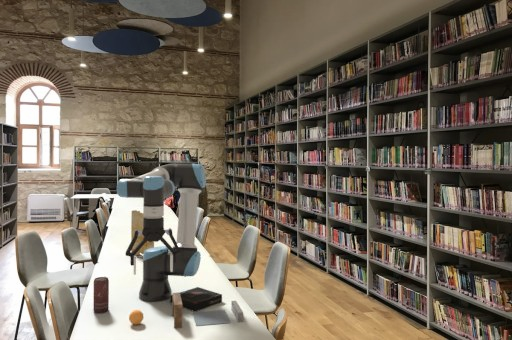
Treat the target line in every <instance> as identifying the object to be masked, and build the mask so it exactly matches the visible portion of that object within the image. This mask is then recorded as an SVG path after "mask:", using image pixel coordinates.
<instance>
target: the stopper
mask: <svg viewBox="0 0 512 340" xmlns="http://www.w3.org/2000/svg"><path fill="white" fill-rule="evenodd" d="M231 311H232V314H233V316H234V317H235V319H236V321H237V323H243V322H244V312H243V310H242V308H241V306H240V305H239V303H238V301H237V300H231Z"/></svg>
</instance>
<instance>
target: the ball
mask: <svg viewBox="0 0 512 340" xmlns="http://www.w3.org/2000/svg"><path fill="white" fill-rule="evenodd" d="M143 319H144V313H143V312H142V311H141V310H140V309H139V310H138V309H135V310H132V311H131V312H130V314H129V316H128V320H129V322H130V324H132V325H139V324H141V323H142V322H143Z"/></svg>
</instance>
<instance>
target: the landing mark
mask: <svg viewBox="0 0 512 340" xmlns="http://www.w3.org/2000/svg"><path fill="white" fill-rule="evenodd" d="M192 316H194V317H193V319H194V320H193V321H194V324H195V323H196V324H195V327H200V325H202V326H209V325H210V326H212V325H223V324H231V320H230V317H229V316H228V314H227V312H226V309H221V310H210V311H209V310H207V311H196V312H195V311H192ZM198 325H199V326H198Z"/></svg>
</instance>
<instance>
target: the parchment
mask: <svg viewBox="0 0 512 340" xmlns="http://www.w3.org/2000/svg"><path fill="white" fill-rule="evenodd" d="M130 218H131V221H130V223H131V224H130V225H131V227H130V229H131V231H130V232H131V233H130V235H131V237H130V238H131V239H130V240H131V241H132V239H133V237H134V233H135V230H138V231H143V219H144V216H143V213H142V212H141V210H137V209H136V210H135V209H134V210H131V217H130ZM143 238H144V236H143V235H142V234H140V236H138V237H137V240H136V242H135V244H134V246H133V248H132V250H131V251H130V252H131V253H132V251H133V250H134V249H135V248H136V247H137V245H138V244H139V243H140V242H141V241H142V239H143ZM131 241H130V242H131ZM154 247H155V241H153V242H149V241H147V242H146V243H145V244H144V245H143V246H142V247H141V248H140V250H139V251H138V252H137V253H136V254H135V256H139V255H140V254H141V255H143V254H144V251H145V250H147V249H150V248H154Z"/></svg>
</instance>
